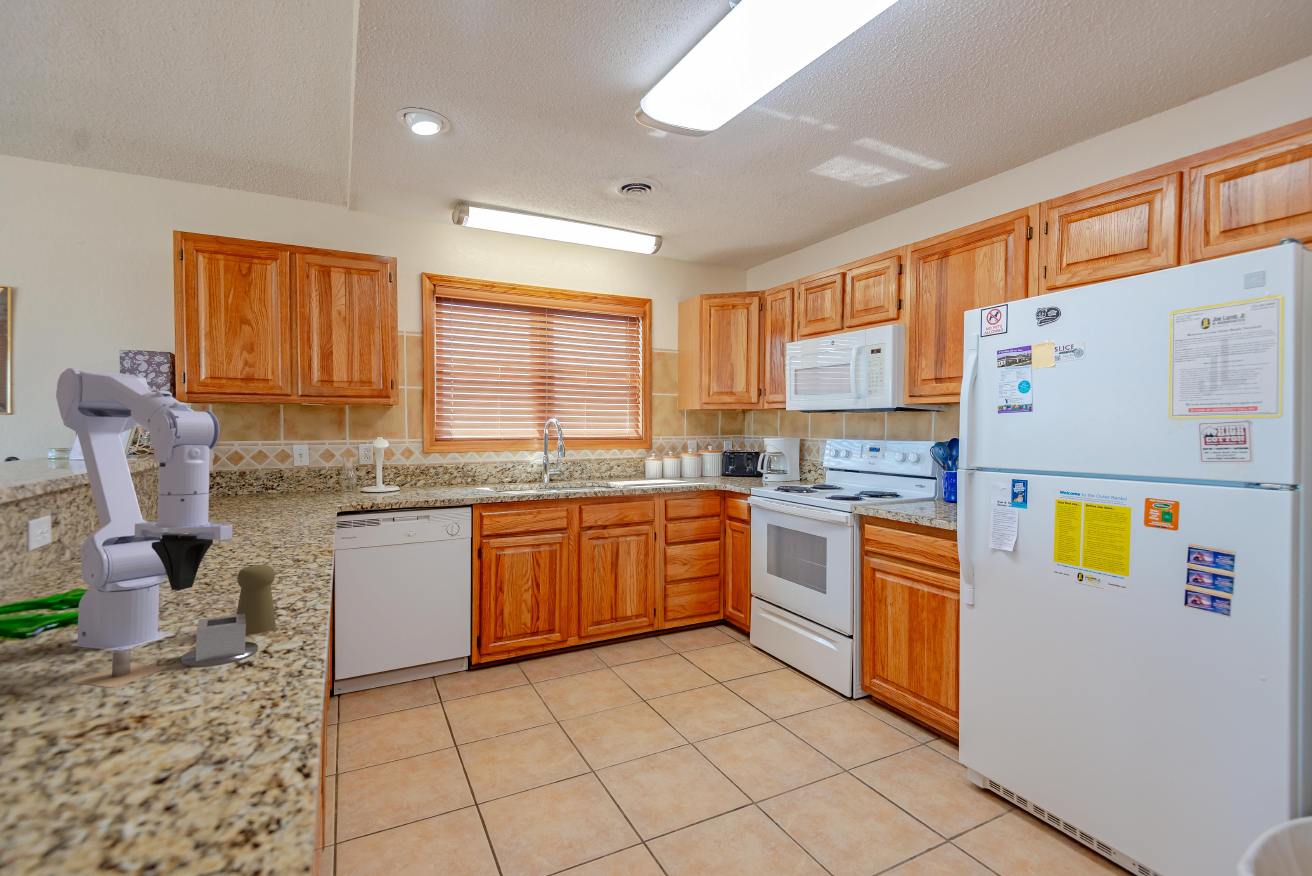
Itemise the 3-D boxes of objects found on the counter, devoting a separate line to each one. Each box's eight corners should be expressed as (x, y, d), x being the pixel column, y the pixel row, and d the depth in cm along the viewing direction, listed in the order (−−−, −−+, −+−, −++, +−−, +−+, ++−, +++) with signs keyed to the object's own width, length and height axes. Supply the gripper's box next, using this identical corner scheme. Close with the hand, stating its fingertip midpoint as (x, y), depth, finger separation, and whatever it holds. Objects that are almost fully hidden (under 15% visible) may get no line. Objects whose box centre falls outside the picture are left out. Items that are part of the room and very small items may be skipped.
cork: (254, 640, 94) (256, 571, 95) (222, 636, 96) (224, 568, 96) (285, 628, 100) (287, 563, 100) (255, 625, 102) (256, 561, 102)
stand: (69, 686, 76) (70, 658, 76) (127, 666, 83) (127, 640, 83) (114, 692, 74) (115, 663, 74) (169, 671, 81) (169, 645, 81)
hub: (164, 667, 83) (165, 638, 83) (222, 645, 92) (222, 619, 92) (219, 673, 81) (220, 644, 81) (272, 650, 90) (273, 624, 90)
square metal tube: (195, 662, 82) (196, 629, 82) (197, 650, 87) (198, 619, 87) (244, 654, 85) (245, 623, 85) (244, 643, 90) (245, 613, 90)
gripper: (112, 494, 83) (110, 592, 82) (200, 497, 80) (198, 598, 80) (163, 491, 90) (161, 581, 89) (245, 493, 87) (243, 586, 87)
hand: (182, 588), depth 85 cm, fingers closed
